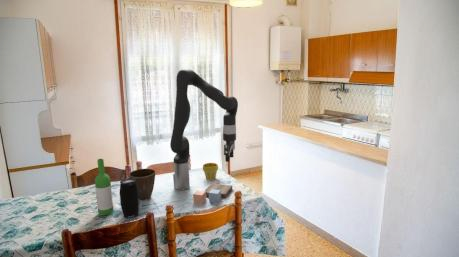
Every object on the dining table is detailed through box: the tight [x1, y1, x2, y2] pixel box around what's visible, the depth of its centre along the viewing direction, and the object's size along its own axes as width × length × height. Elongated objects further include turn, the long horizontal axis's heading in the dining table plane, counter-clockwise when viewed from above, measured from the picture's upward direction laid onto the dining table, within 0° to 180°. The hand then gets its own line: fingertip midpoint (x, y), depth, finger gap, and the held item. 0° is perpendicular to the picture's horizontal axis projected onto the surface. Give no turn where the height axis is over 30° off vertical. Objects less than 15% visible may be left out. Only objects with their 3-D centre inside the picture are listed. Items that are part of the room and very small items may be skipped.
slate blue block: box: [208, 189, 222, 203], centre depth 185 cm, size 6×6×6 cm
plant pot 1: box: [128, 168, 156, 202], centre depth 189 cm, size 15×15×16 cm
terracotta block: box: [192, 190, 207, 205], centre depth 184 cm, size 6×6×6 cm
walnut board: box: [204, 183, 233, 199], centre depth 196 cm, size 14×14×2 cm
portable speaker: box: [119, 177, 140, 219], centre depth 167 cm, size 9×9×20 cm
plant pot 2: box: [202, 162, 219, 181], centre depth 220 cm, size 10×10×10 cm
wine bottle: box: [94, 158, 114, 216], centre depth 170 cm, size 8×8×30 cm
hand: (229, 159), depth 185 cm, fingers open, 8 cm apart
